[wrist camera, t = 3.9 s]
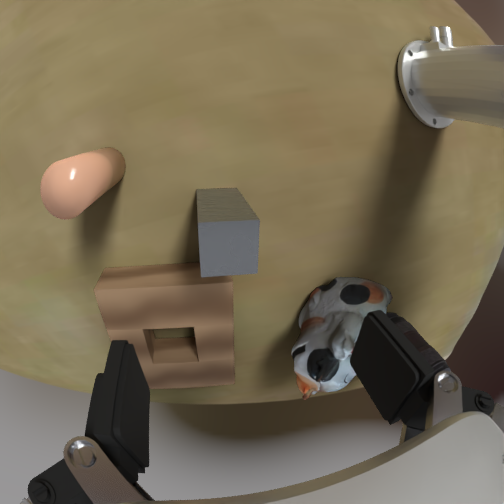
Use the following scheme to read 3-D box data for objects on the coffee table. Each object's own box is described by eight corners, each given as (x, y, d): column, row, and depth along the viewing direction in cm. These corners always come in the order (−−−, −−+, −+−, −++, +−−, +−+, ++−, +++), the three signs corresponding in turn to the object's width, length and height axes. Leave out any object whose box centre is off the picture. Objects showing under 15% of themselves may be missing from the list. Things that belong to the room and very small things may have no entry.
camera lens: (400, 331, 43) (446, 385, 30) (364, 351, 43) (406, 414, 30) (401, 300, 39) (457, 358, 26) (361, 323, 39) (413, 391, 26)
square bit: (196, 189, 26) (197, 222, 17) (236, 187, 27) (259, 219, 18) (197, 227, 28) (201, 277, 19) (236, 225, 28) (257, 273, 20)
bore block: (104, 267, 27) (93, 289, 23) (227, 260, 30) (232, 282, 26) (134, 364, 34) (131, 388, 30) (229, 359, 37) (234, 383, 33)
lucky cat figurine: (356, 342, 41) (350, 419, 31) (289, 324, 42) (269, 403, 32) (404, 281, 31) (417, 376, 21) (321, 254, 32) (308, 353, 22)
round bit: (88, 150, 22) (37, 165, 13) (124, 144, 22) (86, 155, 14) (91, 188, 23) (45, 222, 14) (126, 184, 24) (93, 216, 15)
